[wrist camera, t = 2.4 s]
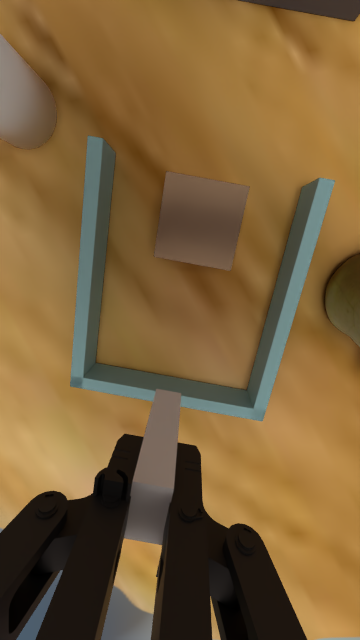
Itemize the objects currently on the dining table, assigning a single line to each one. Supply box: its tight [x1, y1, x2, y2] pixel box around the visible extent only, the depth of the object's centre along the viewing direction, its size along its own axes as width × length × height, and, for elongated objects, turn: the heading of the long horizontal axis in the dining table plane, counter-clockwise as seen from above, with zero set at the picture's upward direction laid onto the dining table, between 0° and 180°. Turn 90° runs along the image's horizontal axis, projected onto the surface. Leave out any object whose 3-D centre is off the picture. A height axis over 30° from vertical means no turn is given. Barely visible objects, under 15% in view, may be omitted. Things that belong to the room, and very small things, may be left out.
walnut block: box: [154, 171, 250, 271], centre depth 23 cm, size 6×6×6 cm
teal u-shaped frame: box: [70, 136, 335, 421], centre depth 26 cm, size 22×19×4 cm
